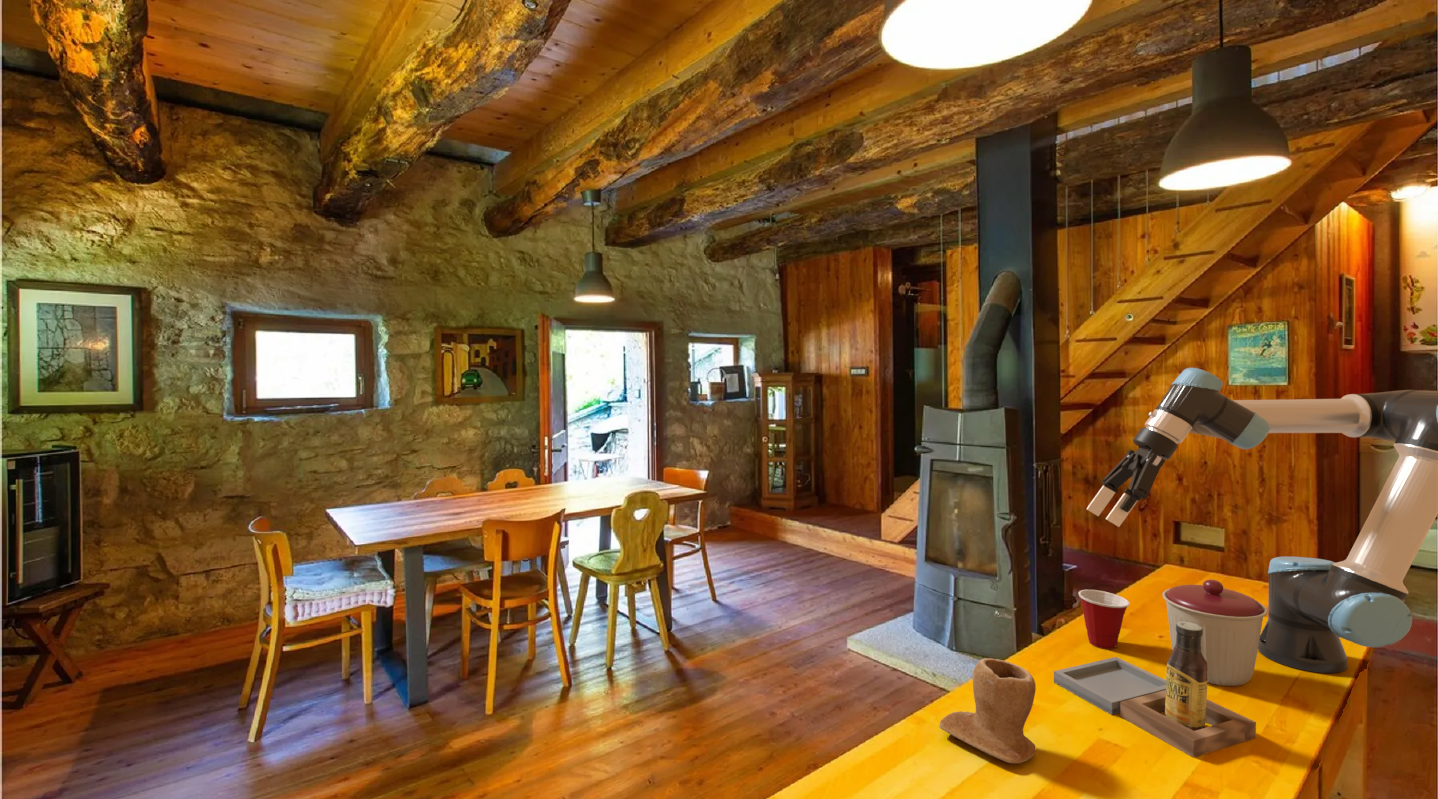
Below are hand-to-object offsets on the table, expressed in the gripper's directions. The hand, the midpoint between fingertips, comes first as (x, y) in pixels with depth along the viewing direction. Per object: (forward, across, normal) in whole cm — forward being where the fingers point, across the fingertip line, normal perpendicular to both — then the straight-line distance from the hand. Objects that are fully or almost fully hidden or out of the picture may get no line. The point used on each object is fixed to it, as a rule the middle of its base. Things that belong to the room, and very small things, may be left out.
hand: (1101, 517), depth 139 cm
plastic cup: (+26, -21, +23) cm, 40 cm away
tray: (+29, +3, +20) cm, 36 cm away
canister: (+17, -9, +39) cm, 43 cm away
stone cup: (+46, +28, -2) cm, 54 cm away
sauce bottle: (+26, +15, +28) cm, 41 cm away
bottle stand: (+26, +15, +28) cm, 41 cm away
